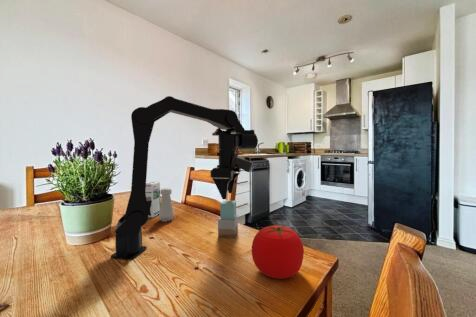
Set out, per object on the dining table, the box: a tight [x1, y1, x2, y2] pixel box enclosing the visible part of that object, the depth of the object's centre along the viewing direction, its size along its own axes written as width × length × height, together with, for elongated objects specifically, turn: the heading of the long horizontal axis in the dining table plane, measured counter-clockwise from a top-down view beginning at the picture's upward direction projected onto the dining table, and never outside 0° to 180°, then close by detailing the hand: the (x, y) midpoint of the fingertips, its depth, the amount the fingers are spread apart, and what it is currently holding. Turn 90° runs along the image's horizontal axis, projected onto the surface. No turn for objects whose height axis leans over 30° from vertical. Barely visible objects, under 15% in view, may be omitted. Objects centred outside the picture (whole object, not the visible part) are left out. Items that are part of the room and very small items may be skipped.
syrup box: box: [145, 181, 161, 218], centre depth 90 cm, size 6×6×14 cm
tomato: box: [251, 224, 305, 280], centre depth 48 cm, size 12×12×10 cm
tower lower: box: [217, 223, 239, 239], centre depth 69 cm, size 6×6×3 cm
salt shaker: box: [158, 187, 175, 223], centre depth 84 cm, size 6×6×13 cm
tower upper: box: [217, 214, 239, 230], centre depth 69 cm, size 6×6×3 cm
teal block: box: [219, 199, 237, 219], centre depth 69 cm, size 4×4×5 cm
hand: (227, 196), depth 69 cm, fingers open, 9 cm apart
